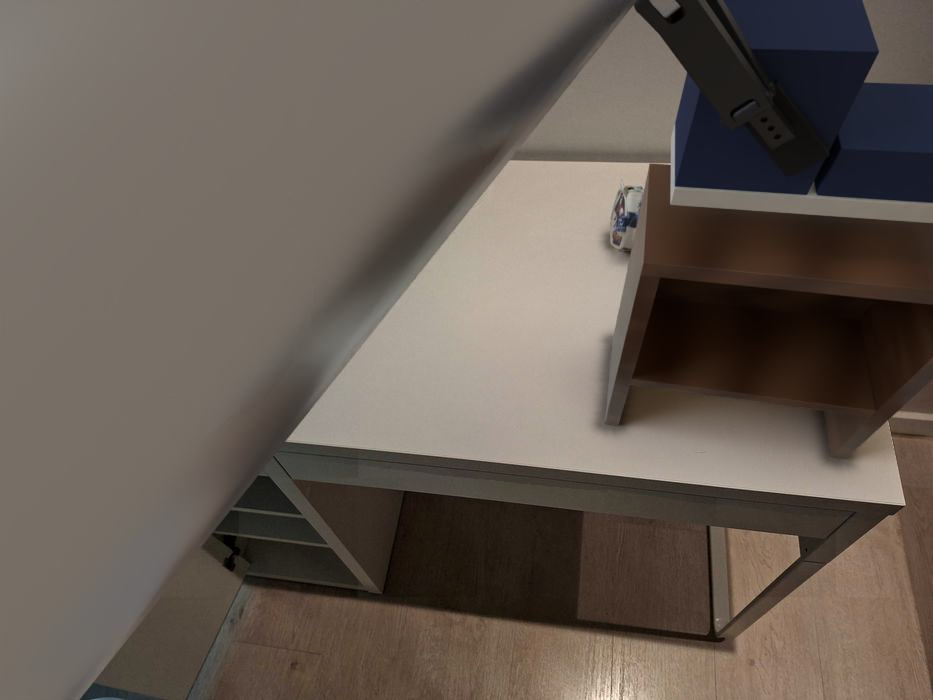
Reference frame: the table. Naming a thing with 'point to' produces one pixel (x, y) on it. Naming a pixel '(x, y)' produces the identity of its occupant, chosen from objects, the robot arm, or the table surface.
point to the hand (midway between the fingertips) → (800, 124)
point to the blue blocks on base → (813, 123)
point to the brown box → (776, 311)
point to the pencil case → (625, 216)
